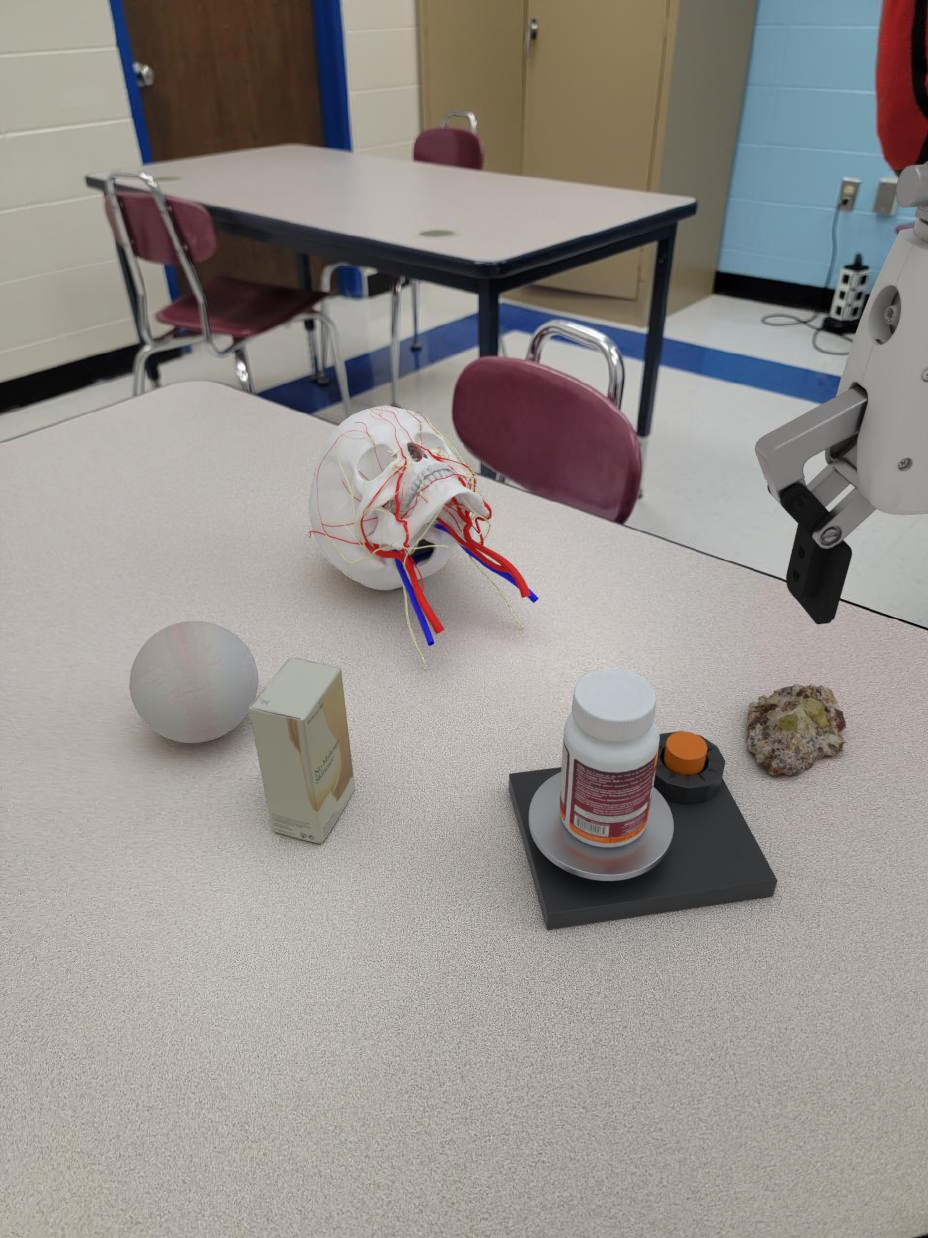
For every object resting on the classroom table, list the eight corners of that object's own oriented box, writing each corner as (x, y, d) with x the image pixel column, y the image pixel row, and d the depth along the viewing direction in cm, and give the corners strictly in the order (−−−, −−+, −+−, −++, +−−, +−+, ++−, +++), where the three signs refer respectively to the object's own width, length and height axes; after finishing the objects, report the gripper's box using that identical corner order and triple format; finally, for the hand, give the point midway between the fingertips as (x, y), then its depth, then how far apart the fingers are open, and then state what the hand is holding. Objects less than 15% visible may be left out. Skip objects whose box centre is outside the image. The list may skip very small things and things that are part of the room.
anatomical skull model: (416, 560, 70) (276, 398, 84) (404, 710, 83) (285, 550, 97) (577, 501, 77) (424, 361, 91) (543, 648, 91) (414, 507, 104)
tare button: (695, 745, 70) (698, 729, 69) (710, 773, 67) (713, 756, 66) (658, 750, 69) (660, 734, 68) (671, 778, 67) (674, 761, 66)
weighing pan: (646, 763, 68) (646, 757, 67) (694, 869, 60) (695, 864, 59) (515, 780, 67) (515, 774, 66) (546, 891, 59) (547, 885, 58)
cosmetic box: (322, 847, 66) (302, 723, 59) (270, 833, 67) (243, 710, 60) (358, 785, 71) (343, 664, 64) (309, 773, 72) (289, 653, 65)
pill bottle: (665, 832, 62) (686, 708, 55) (587, 864, 60) (599, 738, 53) (616, 773, 66) (630, 652, 59) (542, 800, 64) (548, 678, 57)
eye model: (138, 706, 79) (110, 613, 73) (253, 677, 82) (235, 586, 76) (151, 783, 72) (121, 686, 66) (277, 748, 75) (259, 653, 69)
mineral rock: (766, 663, 79) (861, 676, 74) (771, 703, 81) (864, 719, 76) (714, 735, 72) (816, 756, 67) (721, 778, 74) (820, 801, 69)
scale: (701, 759, 73) (707, 727, 71) (773, 896, 62) (783, 863, 60) (507, 784, 71) (507, 752, 69) (546, 930, 60) (548, 897, 58)
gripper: (864, 233, 28) (764, 667, 38) (1355, 204, 30) (1136, 623, 40) (761, 186, 34) (699, 571, 44) (1175, 164, 36) (1025, 537, 46)
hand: (907, 595), depth 42 cm, fingers open, 9 cm apart
